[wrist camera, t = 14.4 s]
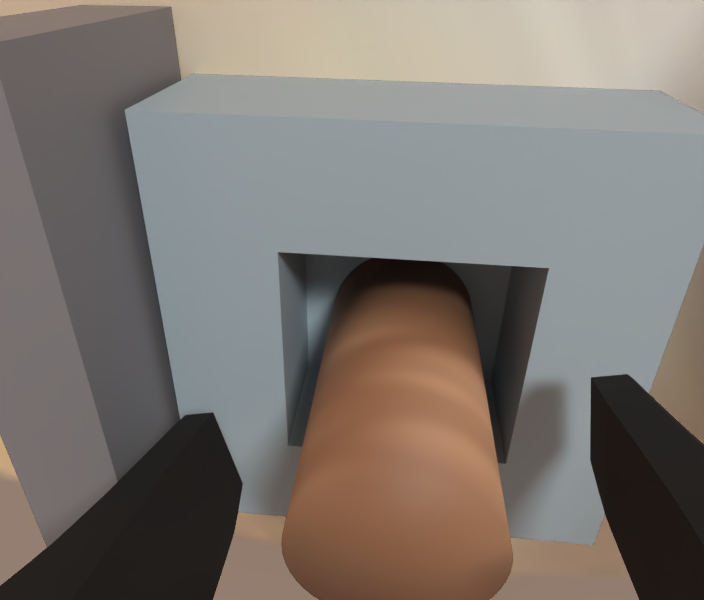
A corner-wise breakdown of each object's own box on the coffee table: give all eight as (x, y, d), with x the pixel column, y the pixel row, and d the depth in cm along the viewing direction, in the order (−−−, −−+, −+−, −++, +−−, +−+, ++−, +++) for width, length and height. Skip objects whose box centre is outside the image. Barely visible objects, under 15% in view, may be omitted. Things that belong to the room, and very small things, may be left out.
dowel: (464, 242, 14) (504, 468, 8) (477, 360, 15) (519, 620, 9) (320, 262, 14) (254, 486, 8) (349, 373, 16) (310, 626, 10)
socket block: (653, 86, 12) (744, 136, 9) (558, 430, 18) (593, 545, 14) (200, 70, 13) (124, 109, 10) (237, 405, 18) (196, 508, 15)
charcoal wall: (171, 6, 12) (-10, 43, 7) (229, 431, 18) (157, 617, 13) (79, 5, 12) (-165, 40, 7) (168, 426, 18) (72, 609, 13)
